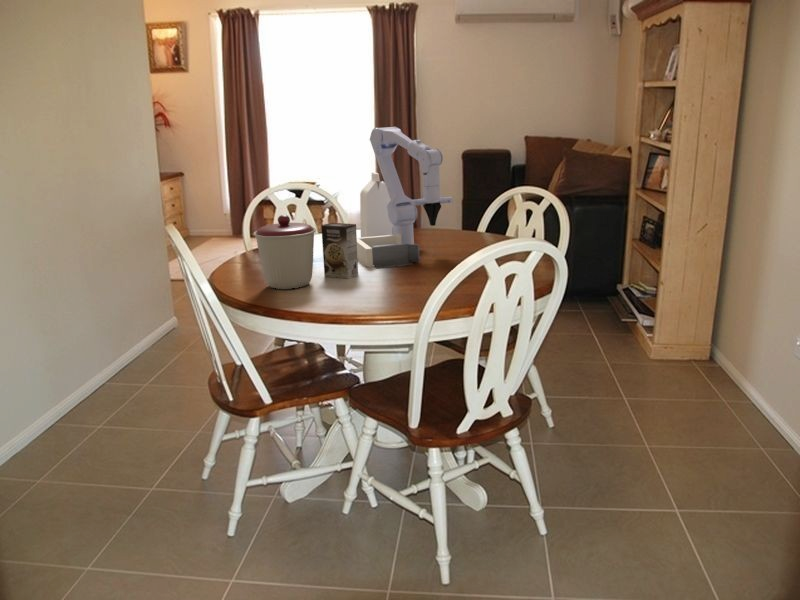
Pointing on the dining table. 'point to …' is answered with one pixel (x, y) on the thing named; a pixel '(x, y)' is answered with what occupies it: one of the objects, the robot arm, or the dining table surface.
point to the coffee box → (340, 250)
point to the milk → (375, 209)
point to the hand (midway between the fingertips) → (432, 225)
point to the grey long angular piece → (395, 255)
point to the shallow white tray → (367, 242)
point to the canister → (286, 253)
